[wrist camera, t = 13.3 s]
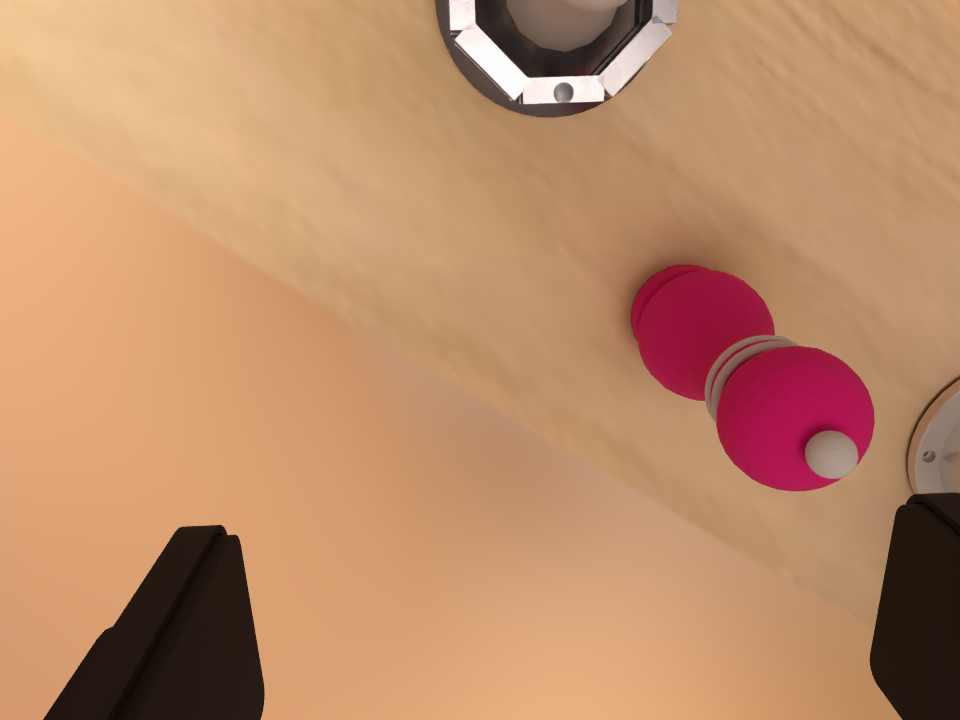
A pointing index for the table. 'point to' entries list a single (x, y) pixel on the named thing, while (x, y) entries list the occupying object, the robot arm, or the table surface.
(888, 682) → the robot arm
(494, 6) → the collar stand
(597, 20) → the salt shaker
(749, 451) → the pepper mill
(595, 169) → the table surface
